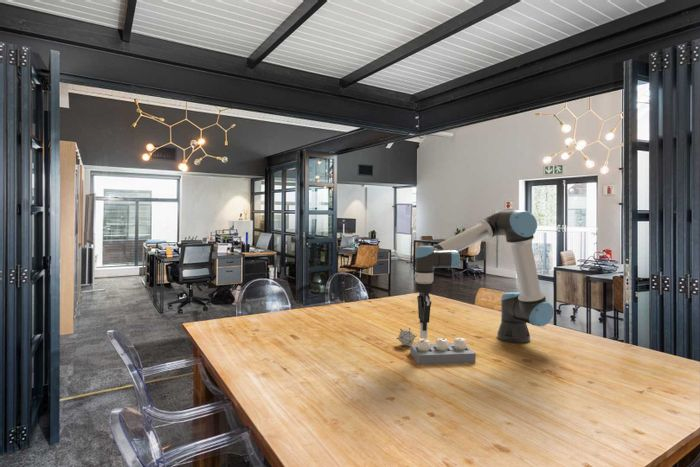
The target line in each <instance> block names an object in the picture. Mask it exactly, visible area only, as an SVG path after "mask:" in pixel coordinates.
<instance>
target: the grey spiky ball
mask: <svg viewBox="0 0 700 467" xmlns="http://www.w3.org/2000/svg"><path fill="white" fill-rule="evenodd" d="M417 336H418V335H415V334H414V333H413V332H412V331H411V328H410V327H409V328H408V329H407V328H406V329H402V328H400V332H399V334H398V337H396V340H398V341H399V342H400V343H401V345H402V348H404V346H410V345H413V343H414V340H415V338H417Z"/></svg>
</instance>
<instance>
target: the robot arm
mask: <svg viewBox="0 0 700 467" xmlns="http://www.w3.org/2000/svg"><path fill="white" fill-rule="evenodd" d="M537 228H538V221H537V219H536V217H535V215H534V214H533V213H531V212H530V211H528V210H522V209H521V210H520V209H518V210H517V209H516V210H515V209H514V210H502V211H499V212H495V213H493V214H491V215H489V216H487V217H485V218H483V219H481V220H479V221H478V224H475V225H474V226H472V227H469V228H468V229H465V230H463V231H461V232H459V233H457V234H456V235H453V236H451V237H449V238H448V239H445V240H443V241H441V242H439V243H437V244H435V245H418V246H416V248H415V254H414V255H415V256H414V258H415V269H414V270H415V273H414V275H413V276H414V277H415V279H414V281H415V283H414V290H415V292H417V293H418V295H417V297H416V299H417V314H418V319H419V337H420V338H419V339H428V323H430V317H431V315H430V314H431V306H432V301H431V297H430V293H433V292H434V283H433V282H434V272H435V271H434V269H438V268H439V269H441V268H444V269H445V268H448V269H449V268H457V267H458V266H460V262H461V256H460V253H459V252H461V251H463V250H464V249H467V248H469V247H470V246H474V245H475V244H476V243H478V242H481V241H483V240H485V239H491V238H494V237H498V236H504V237H505V239H506V240H505V242H506V243H507V244H509V245H510V246H511V247H510V248H511V252H512V258H513V262H514V267H515V273H516V277H517V278H516V279H517V282H518V288H519V291H518V292H516V291H513V292H509V291H508V292H504V293H502V295H501V305H500V306H501V308H500V309H501V310H500V311H501V313H500V314H501V320H500V321H501V322H500V324H499V327H498V330H497V335H496V337H497V338H498V339H499V340H501V341H504V342H510V343H517V344H521V343H523V344H524V343H529V342H530V341H531V334H530V331H529V329H528V324H530V325H532V326H534V327H535V326H536V327H544V326H547V325H549V323H550V322H551V321H552V319H553V317H554V310H555V309H554V307H553V305H552V304H551V303H550V302H548V301H547V299H546V294H545V293H543V292H542V290H541V287H540V283H539V275H538V271H537V266H536V261H535V256H534V251H533V244H532V241H533V240H534V239H535V236H534V235H535V233H536V232H537Z"/></svg>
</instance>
